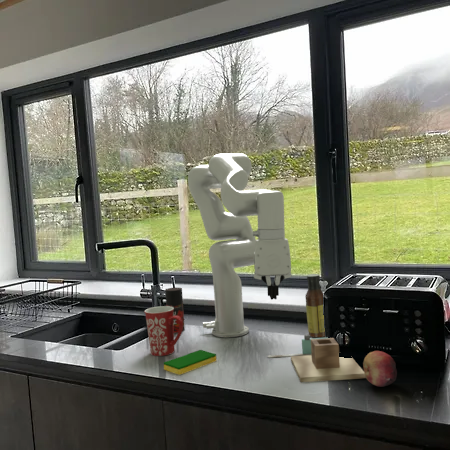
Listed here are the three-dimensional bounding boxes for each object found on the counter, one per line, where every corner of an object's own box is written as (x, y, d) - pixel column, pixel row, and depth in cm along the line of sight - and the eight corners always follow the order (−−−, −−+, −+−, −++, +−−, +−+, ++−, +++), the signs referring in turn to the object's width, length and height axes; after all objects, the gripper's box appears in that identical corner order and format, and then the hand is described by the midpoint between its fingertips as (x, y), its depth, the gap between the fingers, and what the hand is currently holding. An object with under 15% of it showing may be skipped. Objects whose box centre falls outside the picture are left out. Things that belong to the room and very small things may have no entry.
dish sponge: (163, 370, 135) (162, 362, 135) (201, 357, 145) (200, 349, 145) (179, 376, 130) (178, 367, 130) (217, 362, 140) (216, 353, 139)
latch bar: (303, 354, 139) (302, 336, 139) (302, 352, 140) (301, 334, 140) (331, 352, 139) (330, 334, 139) (329, 350, 141) (329, 333, 140)
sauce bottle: (326, 332, 160) (323, 272, 159) (329, 338, 154) (326, 276, 153) (306, 333, 161) (303, 273, 160) (308, 338, 155) (304, 276, 154)
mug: (141, 355, 149) (138, 311, 148) (160, 346, 156) (157, 305, 156) (173, 360, 142) (170, 314, 141) (192, 351, 150) (189, 307, 149)
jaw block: (316, 369, 125) (315, 346, 124) (311, 361, 131) (310, 339, 130) (339, 367, 125) (338, 344, 124) (334, 359, 131) (333, 337, 130)
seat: (276, 383, 120) (275, 367, 119) (267, 356, 141) (266, 341, 140) (365, 378, 120) (364, 361, 120) (343, 351, 141) (342, 336, 141)
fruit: (365, 378, 120) (364, 346, 119) (398, 380, 117) (397, 348, 116) (361, 390, 113) (359, 356, 112) (396, 393, 110) (395, 358, 109)
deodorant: (169, 333, 171) (166, 291, 170) (167, 329, 177) (164, 288, 176) (185, 331, 172) (183, 289, 171) (183, 327, 178) (180, 286, 177)
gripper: (245, 237, 134) (248, 302, 136) (300, 235, 134) (301, 300, 136) (244, 234, 141) (246, 296, 143) (295, 232, 142) (297, 294, 143)
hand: (273, 298), depth 140 cm, fingers closed
